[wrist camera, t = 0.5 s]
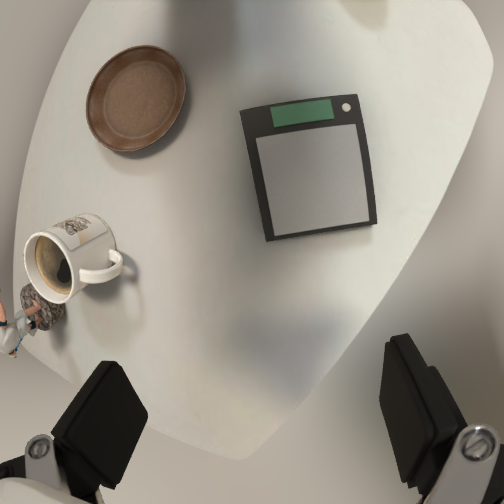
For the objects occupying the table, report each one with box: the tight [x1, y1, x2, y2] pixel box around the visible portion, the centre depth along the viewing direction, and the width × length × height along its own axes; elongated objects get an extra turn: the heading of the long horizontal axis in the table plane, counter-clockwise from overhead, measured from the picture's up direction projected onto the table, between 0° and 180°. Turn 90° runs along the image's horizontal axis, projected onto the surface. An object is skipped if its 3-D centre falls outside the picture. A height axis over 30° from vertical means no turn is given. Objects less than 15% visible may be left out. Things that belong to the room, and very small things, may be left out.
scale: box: [240, 94, 377, 242], centre depth 33 cm, size 16×14×3 cm
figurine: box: [0, 283, 64, 358], centre depth 37 cm, size 15×9×18 cm, turn 165°
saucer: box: [86, 45, 186, 152], centre depth 32 cm, size 15×15×3 cm
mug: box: [24, 213, 123, 304], centre depth 36 cm, size 10×12×11 cm
